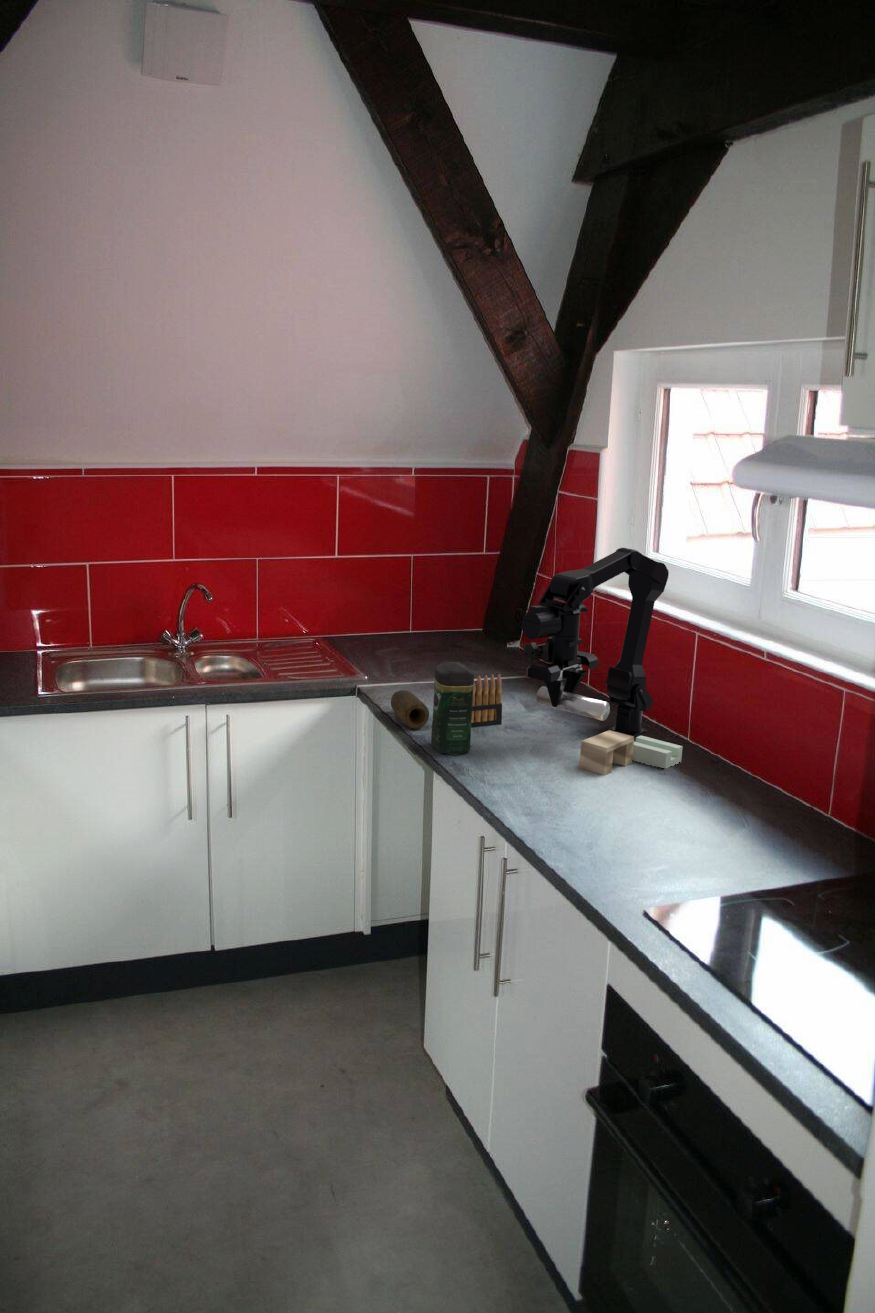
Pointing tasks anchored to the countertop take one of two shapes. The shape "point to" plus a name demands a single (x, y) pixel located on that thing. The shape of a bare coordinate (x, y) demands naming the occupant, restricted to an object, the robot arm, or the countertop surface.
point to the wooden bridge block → (606, 751)
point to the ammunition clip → (487, 703)
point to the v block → (656, 752)
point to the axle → (576, 704)
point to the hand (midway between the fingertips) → (560, 704)
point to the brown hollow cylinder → (409, 709)
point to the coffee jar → (452, 708)
